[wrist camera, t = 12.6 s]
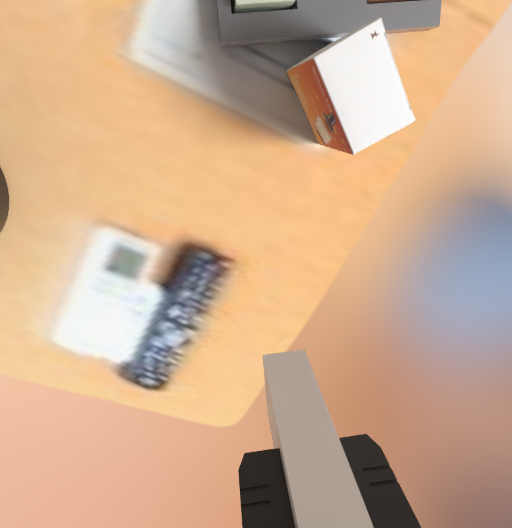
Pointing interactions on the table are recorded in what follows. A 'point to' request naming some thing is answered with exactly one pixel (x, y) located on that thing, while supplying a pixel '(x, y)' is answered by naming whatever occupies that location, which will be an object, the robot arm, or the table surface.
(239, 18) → the board
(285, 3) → the pale green button
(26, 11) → the table surface
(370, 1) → the peach rectangular block
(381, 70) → the small box
